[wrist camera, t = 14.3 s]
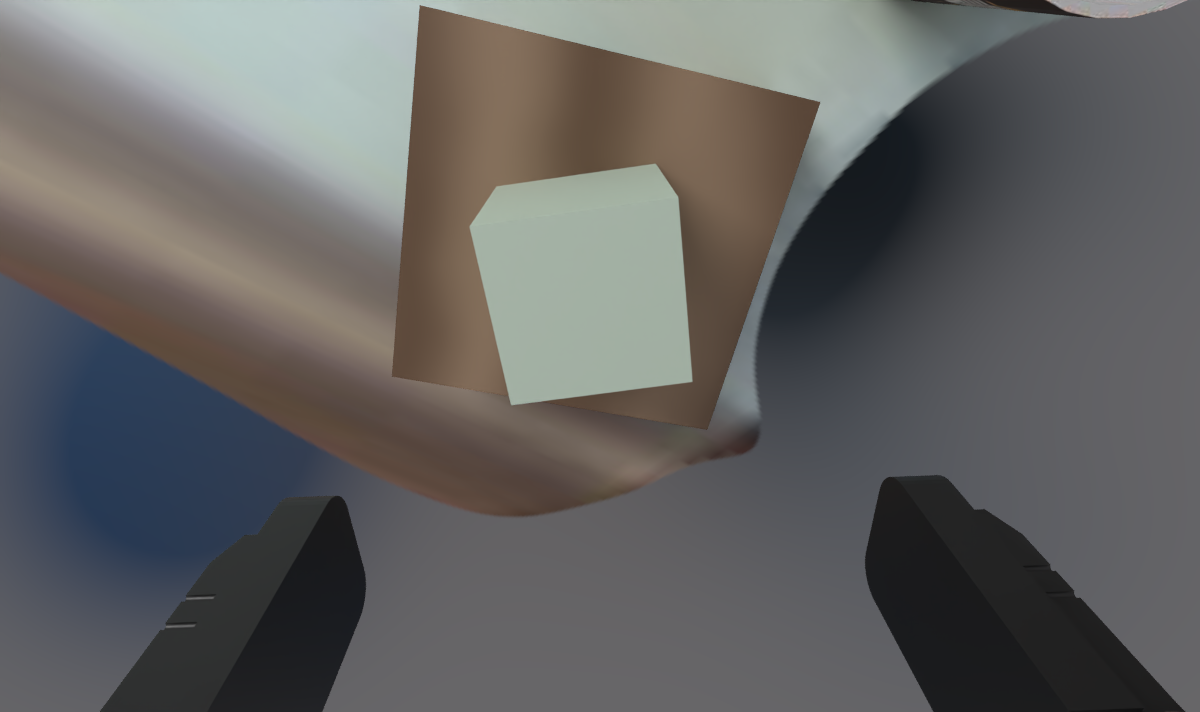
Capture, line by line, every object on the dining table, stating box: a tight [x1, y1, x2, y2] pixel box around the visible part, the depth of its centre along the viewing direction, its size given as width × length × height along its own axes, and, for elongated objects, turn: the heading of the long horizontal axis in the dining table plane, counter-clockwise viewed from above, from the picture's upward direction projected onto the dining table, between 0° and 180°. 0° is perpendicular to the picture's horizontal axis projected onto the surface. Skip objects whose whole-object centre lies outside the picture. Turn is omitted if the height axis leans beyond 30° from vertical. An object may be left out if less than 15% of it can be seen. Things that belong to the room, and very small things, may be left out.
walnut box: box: [392, 5, 820, 430], centre depth 25 cm, size 13×13×6 cm
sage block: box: [470, 164, 693, 405], centre depth 20 cm, size 6×6×6 cm
